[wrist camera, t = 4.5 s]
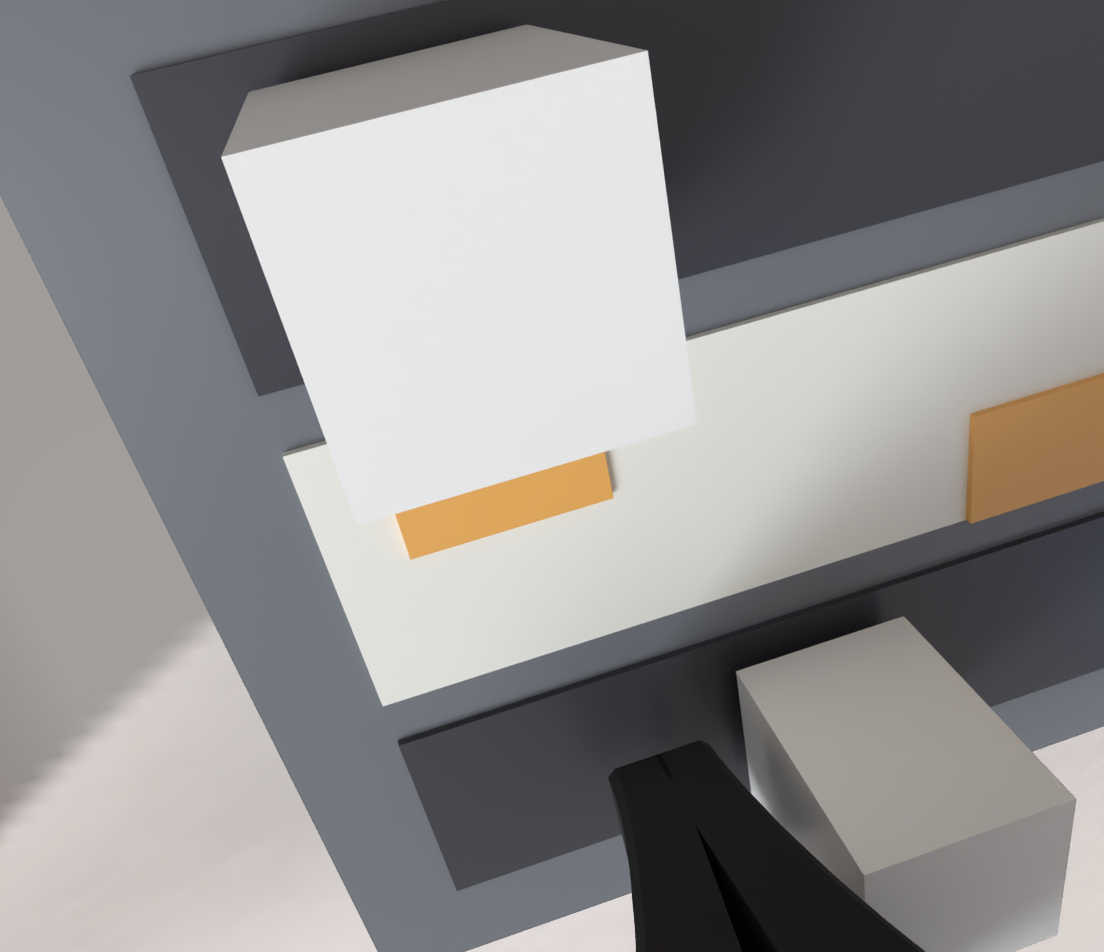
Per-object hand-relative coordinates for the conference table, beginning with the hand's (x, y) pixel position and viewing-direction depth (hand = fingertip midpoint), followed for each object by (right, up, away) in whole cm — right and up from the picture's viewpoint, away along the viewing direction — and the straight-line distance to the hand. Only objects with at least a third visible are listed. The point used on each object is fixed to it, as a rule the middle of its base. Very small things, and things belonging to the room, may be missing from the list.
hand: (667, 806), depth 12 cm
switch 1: (-3, +7, -4) cm, 8 cm away
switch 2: (+2, +1, +1) cm, 3 cm away
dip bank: (+1, +5, 0) cm, 5 cm away
